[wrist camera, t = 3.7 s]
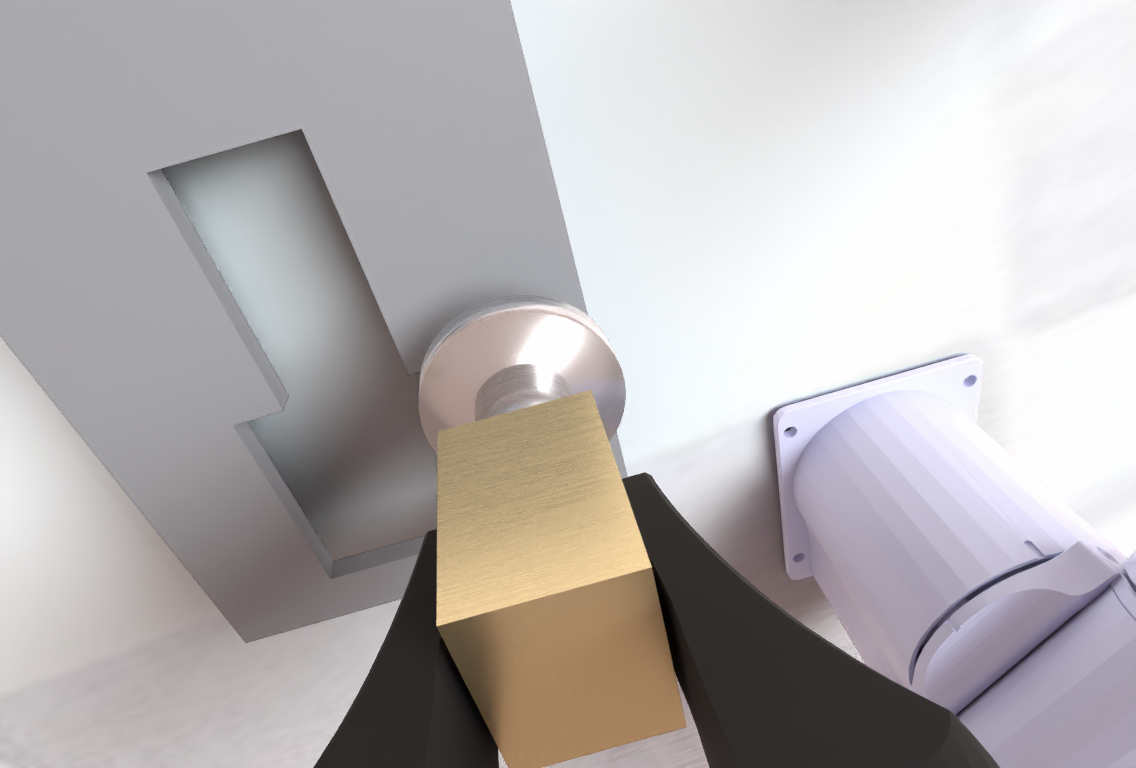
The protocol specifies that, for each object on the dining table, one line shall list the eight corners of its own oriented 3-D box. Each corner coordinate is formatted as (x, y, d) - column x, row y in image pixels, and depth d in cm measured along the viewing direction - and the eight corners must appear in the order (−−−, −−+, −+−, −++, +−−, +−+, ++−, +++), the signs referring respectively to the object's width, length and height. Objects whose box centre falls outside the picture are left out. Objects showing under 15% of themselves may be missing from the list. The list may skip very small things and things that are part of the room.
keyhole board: (620, 469, 26) (640, 530, 24) (266, 570, 26) (245, 643, 24) (453, -192, 15) (455, -223, 13) (-151, -21, 15) (-280, -15, 13)
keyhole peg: (631, 435, 19) (746, 726, 12) (454, 483, 19) (462, 805, 12) (597, 270, 16) (719, 521, 9) (389, 326, 16) (349, 623, 9)
